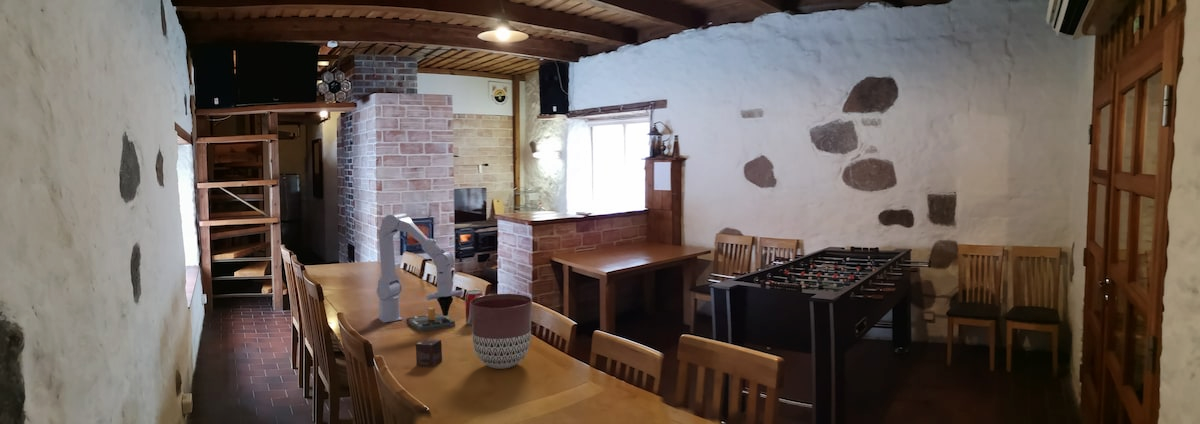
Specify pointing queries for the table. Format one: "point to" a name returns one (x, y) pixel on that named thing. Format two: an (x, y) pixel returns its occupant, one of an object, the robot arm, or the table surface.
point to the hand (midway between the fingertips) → (445, 315)
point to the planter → (501, 328)
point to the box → (429, 352)
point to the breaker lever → (431, 313)
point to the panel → (431, 323)
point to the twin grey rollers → (417, 317)
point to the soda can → (468, 298)
